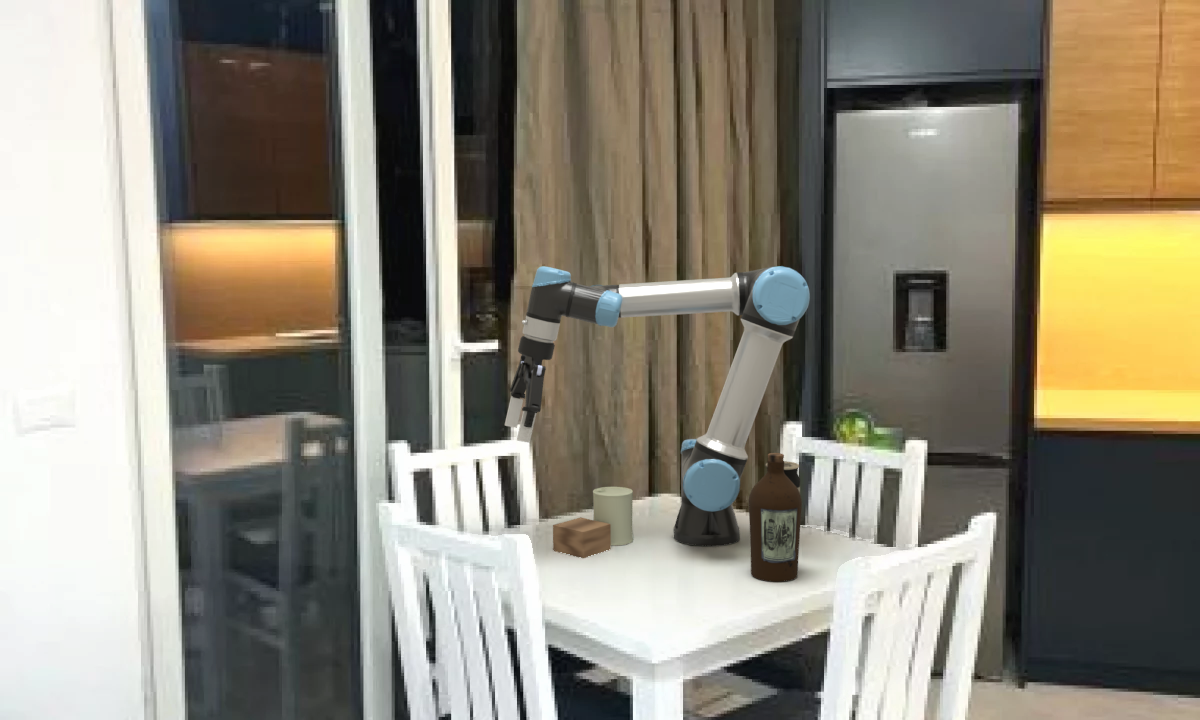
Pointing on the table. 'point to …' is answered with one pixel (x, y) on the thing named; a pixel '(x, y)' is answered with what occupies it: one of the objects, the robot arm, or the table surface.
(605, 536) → the walnut block
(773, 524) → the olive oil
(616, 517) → the can
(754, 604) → the table surface
